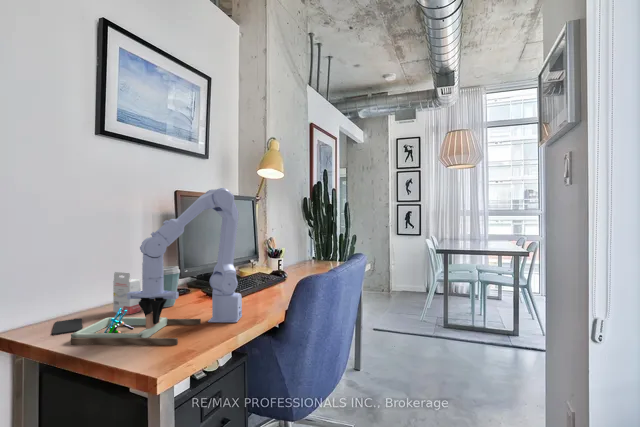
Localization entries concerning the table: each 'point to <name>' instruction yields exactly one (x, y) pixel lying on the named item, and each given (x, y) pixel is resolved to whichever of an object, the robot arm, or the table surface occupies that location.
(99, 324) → the open rectangular frame
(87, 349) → the table surface
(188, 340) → the table surface
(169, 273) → the disposable coffee cup
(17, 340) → the table surface
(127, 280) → the ink cartridge box
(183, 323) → the guide rails
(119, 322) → the stick construction toy
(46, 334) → the table surface
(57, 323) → the phone
